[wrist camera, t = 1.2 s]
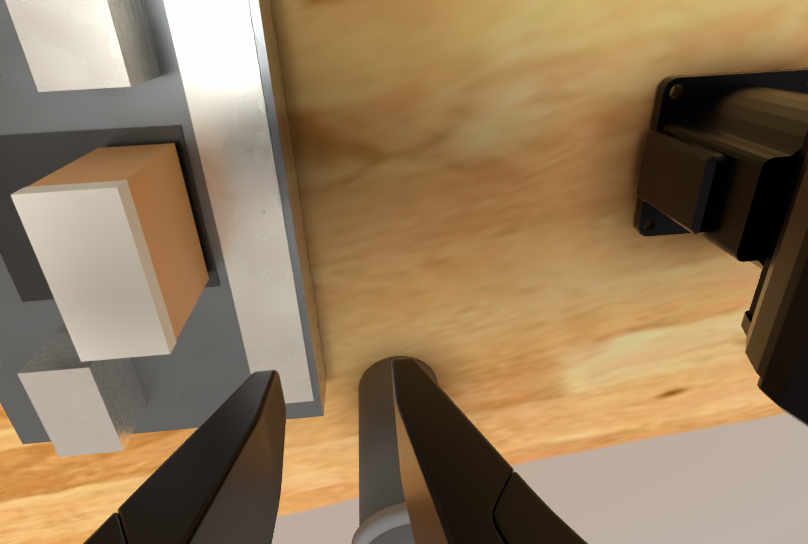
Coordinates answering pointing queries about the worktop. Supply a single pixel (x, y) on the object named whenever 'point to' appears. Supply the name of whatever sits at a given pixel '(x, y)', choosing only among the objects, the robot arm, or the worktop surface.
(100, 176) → the block
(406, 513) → the post
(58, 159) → the breaker panel
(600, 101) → the worktop surface
